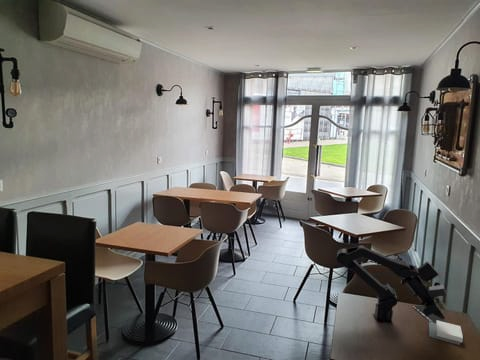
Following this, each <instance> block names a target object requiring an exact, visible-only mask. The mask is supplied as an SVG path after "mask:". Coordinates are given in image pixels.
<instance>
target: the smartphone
mask: <svg viewBox="0 0 480 360" xmlns="http://www.w3.org/2000/svg"><path fill="white" fill-rule="evenodd" d="M424 305H425V304H423V305H422V304H420V305H418V304H417V305H412V307H413V309H415V311H416V312H418V313H419V314H420V315H422V317H423V318H425V319H426V320H427V321H428V322H432V323H436V320H438V321H442V322H446V323H448V322H447V321H446V319H441V318H439V317H438V316H436V315H434V314H431V315H429V316H425V315H424V314H423V306H424Z"/></svg>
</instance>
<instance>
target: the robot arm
mask: <svg viewBox="0 0 480 360" xmlns="http://www.w3.org/2000/svg"><path fill="white" fill-rule="evenodd" d="M336 254H337V255H336V262H337V263H338V264H339V265H341V266H342V267H344V268H346V269H347V270H351V271H352V272H353V273H354V274H355V275H356V276H358V277H359V278H360V279H361V280H362V281H363V282H364V283H365V284H366V285H368V286H369V287H370V288H371V289H372V290H374V291H375V292H376V294H377V296H376V299H377V303H375V309H374V313H372V315H373V317H374V318H375V319H376V321H377V322H378V323H386V324H387V323H389V324H390V323H391V324H392V323H393V314H394V311H393V308H394V307H395V306H397V305H398V302H399V301H398V297H397V293H396V290H395V288H393V287H391V286H390V284H389V283H386V284H382V283H381V282H380V281H379V280H378V279H377V278H376V277H375V276H373V274H371V273H370V272H369V271H368V270H366V269H365V268H364V267H363V266H362V265H361V264H359V263H358V262H357V259H359V258H362V257H363V258H365V259H367V260H369V261H372V262H374V263H375V264H378V265H381V266H382V267H385V268H387V269H388V270H389V271H391V272H392V273H393V274H395V275H397V276H398V277H399V278H400V284H401V286H403V285H405V284H406V285H407V286H408V287H409V289H410V290H412V292H413V293H414V296H415V297H417V298H418V299H419V301H420V305H424V306H423V314H424V315H425V316H429V315H431V314H434V315H436V316H438V317H439V318H441V319H443V320H446V316H445V314H444V312H443V310H442V309H441V306H440V299H439V297H446V296H447V290H446V289H445V286H444V284H443V283H440V282H439V281H438V280H437V281H434V283H433V284H432V286H429V285H428V284H427V283H429V282H430V281H432V280H434V279H435V278H437V277H439V276H440V273H439V272H438V270H436V268H435V266H433V265H432V264H431V263H430V262H429V261H426V262H424V263H423V264H422V265H420V266H419V267H417V266H416V265H414V264H413V265H412V264H409V263H408V262H407V261H404V260H401V259H397V258H391V257H388V256H386V255H384V254H381V253H379V252H377V251H375V250H373V249H371V248H368V247H366V246H365V245H358V246H352V247H347V248H340V249H339V250H338V251H337V253H336ZM424 282H425V283H424Z"/></svg>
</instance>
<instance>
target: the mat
mask: <svg viewBox="0 0 480 360" xmlns="http://www.w3.org/2000/svg"><path fill="white" fill-rule="evenodd" d="M428 331H429V332H428V335H429V338H431V339H432V338H433V339H437V340H439V341H444V342H447V343H451V344H454V345H457V346H458V345H459V346H461V342H458V341H454V340H451V339H447V338H443V337H440V336H437V331H436V323H432V322H430V321H428Z"/></svg>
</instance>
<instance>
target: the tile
mask: <svg viewBox="0 0 480 360" xmlns="http://www.w3.org/2000/svg"><path fill="white" fill-rule="evenodd" d="M446 322H447V321H446ZM446 322H442V321H438V320H436V331H437V336H440V337H443V338H447V339H451V340H454V341H458V342H460V343H463V339H464V338H463V332H462V328H461V327H462V326H461V325H457V324H453V323H449V322H447V323H446Z"/></svg>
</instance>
